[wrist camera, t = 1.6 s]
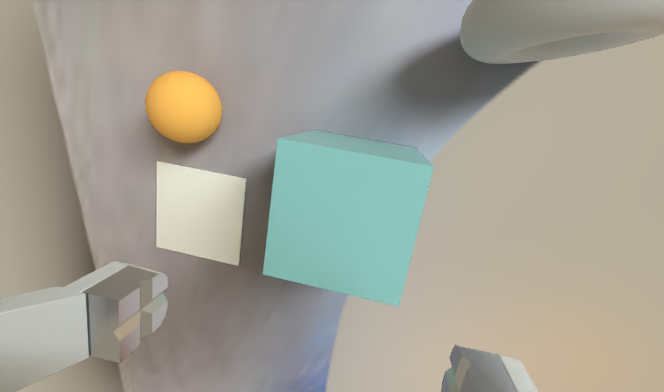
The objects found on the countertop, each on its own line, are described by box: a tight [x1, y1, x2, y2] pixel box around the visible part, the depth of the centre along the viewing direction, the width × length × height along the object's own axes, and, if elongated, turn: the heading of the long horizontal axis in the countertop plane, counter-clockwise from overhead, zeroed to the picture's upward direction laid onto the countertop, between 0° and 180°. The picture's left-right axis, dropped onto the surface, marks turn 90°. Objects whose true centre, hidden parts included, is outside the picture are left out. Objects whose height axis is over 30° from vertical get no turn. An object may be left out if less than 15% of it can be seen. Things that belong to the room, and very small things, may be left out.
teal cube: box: [263, 130, 434, 306], centre depth 21 cm, size 8×8×9 cm
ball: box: [145, 71, 222, 143], centre depth 23 cm, size 5×5×5 cm
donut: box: [460, 0, 664, 64], centre depth 16 cm, size 10×3×10 cm, turn 95°
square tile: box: [156, 161, 247, 266], centre depth 28 cm, size 8×8×1 cm
